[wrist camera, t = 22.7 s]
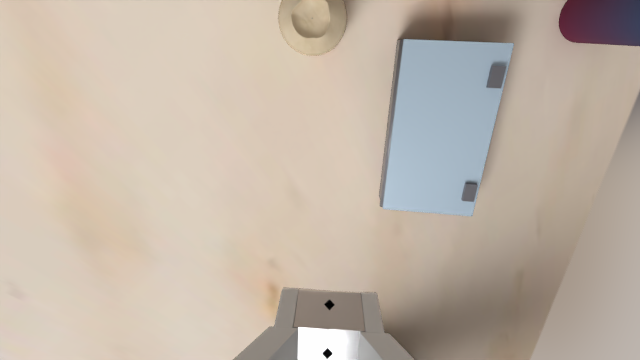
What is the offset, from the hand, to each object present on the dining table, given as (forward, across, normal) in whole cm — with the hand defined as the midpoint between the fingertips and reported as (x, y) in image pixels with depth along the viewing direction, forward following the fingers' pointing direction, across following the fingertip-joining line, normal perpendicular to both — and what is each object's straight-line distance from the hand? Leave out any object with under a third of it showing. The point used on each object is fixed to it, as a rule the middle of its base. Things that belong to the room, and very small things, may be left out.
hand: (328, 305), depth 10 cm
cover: (+26, -11, 0) cm, 29 cm away
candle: (+29, +2, -10) cm, 31 cm away
